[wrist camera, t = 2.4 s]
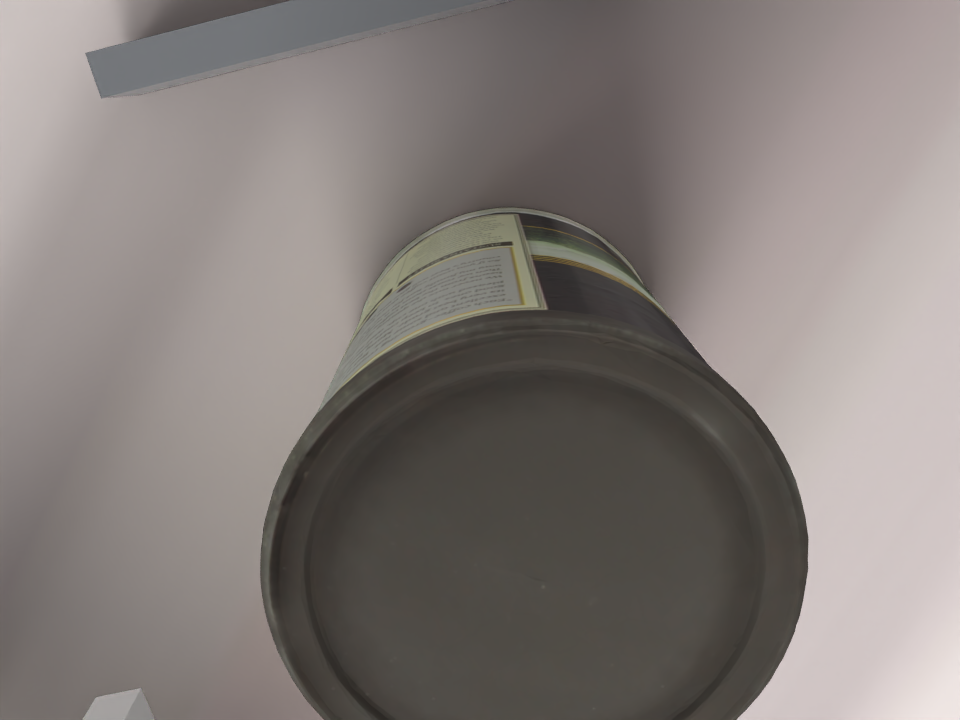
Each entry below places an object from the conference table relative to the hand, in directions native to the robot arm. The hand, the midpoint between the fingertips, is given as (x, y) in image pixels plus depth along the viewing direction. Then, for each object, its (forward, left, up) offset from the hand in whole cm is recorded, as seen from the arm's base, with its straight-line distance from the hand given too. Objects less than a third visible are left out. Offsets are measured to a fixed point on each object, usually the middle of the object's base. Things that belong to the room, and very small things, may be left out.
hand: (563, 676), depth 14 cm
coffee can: (0, 0, -17) cm, 17 cm away
